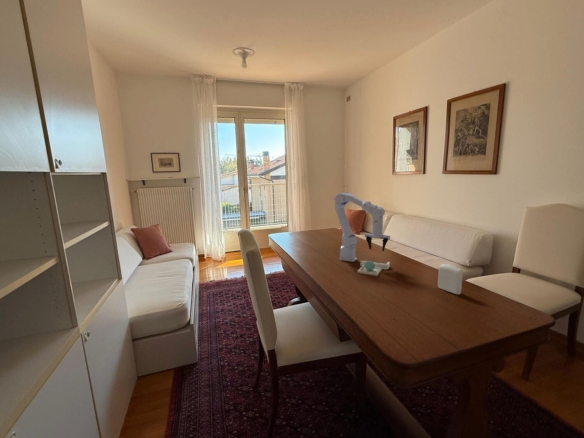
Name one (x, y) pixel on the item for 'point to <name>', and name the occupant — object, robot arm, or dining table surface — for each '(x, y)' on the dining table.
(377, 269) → the white tray
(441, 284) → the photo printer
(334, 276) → the dining table surface
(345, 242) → the robot arm
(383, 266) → the wall
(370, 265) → the ball
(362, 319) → the dining table surface
